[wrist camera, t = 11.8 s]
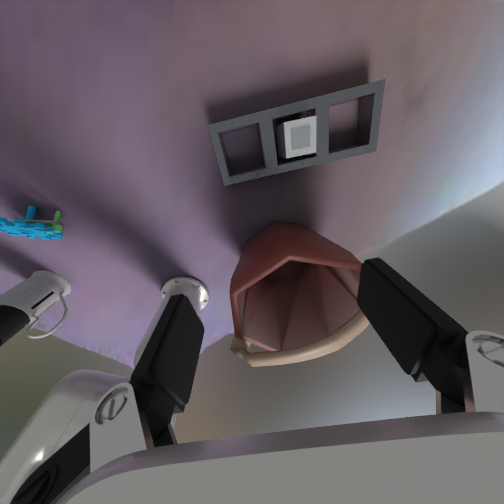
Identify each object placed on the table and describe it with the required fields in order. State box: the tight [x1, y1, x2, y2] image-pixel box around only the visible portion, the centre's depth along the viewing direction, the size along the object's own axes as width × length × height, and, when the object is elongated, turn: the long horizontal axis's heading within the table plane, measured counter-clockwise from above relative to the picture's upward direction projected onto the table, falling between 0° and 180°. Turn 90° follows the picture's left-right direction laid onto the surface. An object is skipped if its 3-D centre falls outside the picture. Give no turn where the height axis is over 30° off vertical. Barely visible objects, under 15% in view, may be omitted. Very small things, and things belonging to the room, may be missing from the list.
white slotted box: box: [276, 116, 316, 158], centre depth 29 cm, size 4×4×7 cm
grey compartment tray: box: [207, 79, 385, 186], centre depth 30 cm, size 26×9×4 cm, turn 102°
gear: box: [0, 206, 63, 240], centre depth 36 cm, size 11×6×10 cm
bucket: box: [230, 221, 370, 367], centre depth 33 cm, size 24×22×25 cm
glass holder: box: [0, 270, 71, 346], centre depth 41 cm, size 9×14×15 cm, turn 71°
